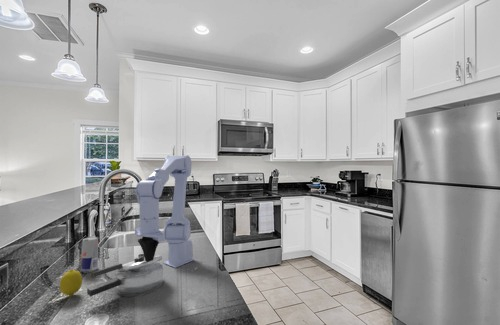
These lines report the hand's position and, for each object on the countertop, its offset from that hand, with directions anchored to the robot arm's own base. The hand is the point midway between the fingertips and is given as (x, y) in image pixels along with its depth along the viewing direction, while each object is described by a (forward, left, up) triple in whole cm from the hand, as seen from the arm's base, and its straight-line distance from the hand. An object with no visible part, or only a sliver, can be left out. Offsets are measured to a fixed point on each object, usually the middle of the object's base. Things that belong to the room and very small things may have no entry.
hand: (149, 260), depth 76 cm
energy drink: (+5, -34, -10) cm, 35 cm away
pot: (+4, -6, -9) cm, 12 cm away
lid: (+4, -6, -3) cm, 7 cm away
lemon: (+16, -17, -10) cm, 25 cm away
